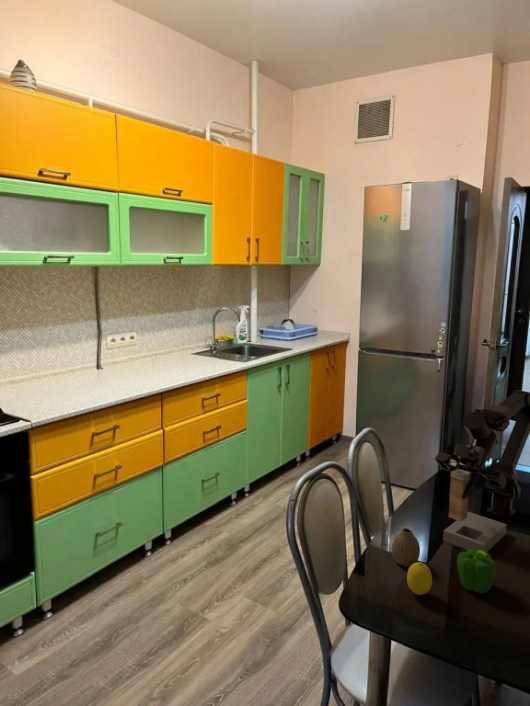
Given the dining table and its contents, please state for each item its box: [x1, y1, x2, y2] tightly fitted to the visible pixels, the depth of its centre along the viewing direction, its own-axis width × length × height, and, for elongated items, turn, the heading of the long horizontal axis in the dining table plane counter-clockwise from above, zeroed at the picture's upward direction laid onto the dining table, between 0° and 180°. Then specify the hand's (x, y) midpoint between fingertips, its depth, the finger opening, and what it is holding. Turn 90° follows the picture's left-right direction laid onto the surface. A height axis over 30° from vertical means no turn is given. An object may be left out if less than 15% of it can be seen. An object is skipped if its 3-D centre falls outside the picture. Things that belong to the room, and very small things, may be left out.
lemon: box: [406, 561, 433, 596], centre depth 118 cm, size 6×6×8 cm
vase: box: [391, 527, 421, 568], centre depth 132 cm, size 7×7×9 cm
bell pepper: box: [456, 548, 497, 594], centre depth 121 cm, size 8×8×10 cm
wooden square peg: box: [448, 469, 471, 521], centre depth 141 cm, size 4×4×13 cm
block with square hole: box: [442, 511, 507, 553], centre depth 145 cm, size 16×11×3 cm
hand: (456, 496), depth 140 cm, fingers closed on wooden square peg, 3 cm apart
